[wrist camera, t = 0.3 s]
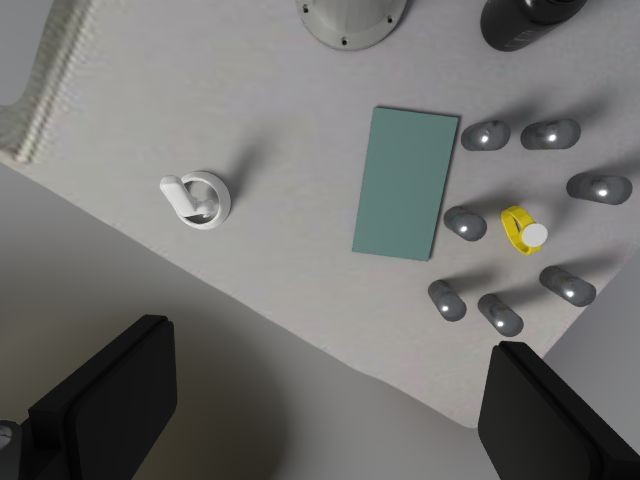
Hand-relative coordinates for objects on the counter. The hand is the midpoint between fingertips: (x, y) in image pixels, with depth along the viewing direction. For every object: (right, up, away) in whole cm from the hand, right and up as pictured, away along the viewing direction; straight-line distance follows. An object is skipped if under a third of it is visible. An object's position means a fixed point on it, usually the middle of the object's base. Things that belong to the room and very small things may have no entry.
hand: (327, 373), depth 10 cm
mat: (+10, +11, +34) cm, 37 cm away
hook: (-16, +9, +36) cm, 40 cm away
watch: (+24, +6, +34) cm, 42 cm away
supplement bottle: (+21, +29, +29) cm, 46 cm away
